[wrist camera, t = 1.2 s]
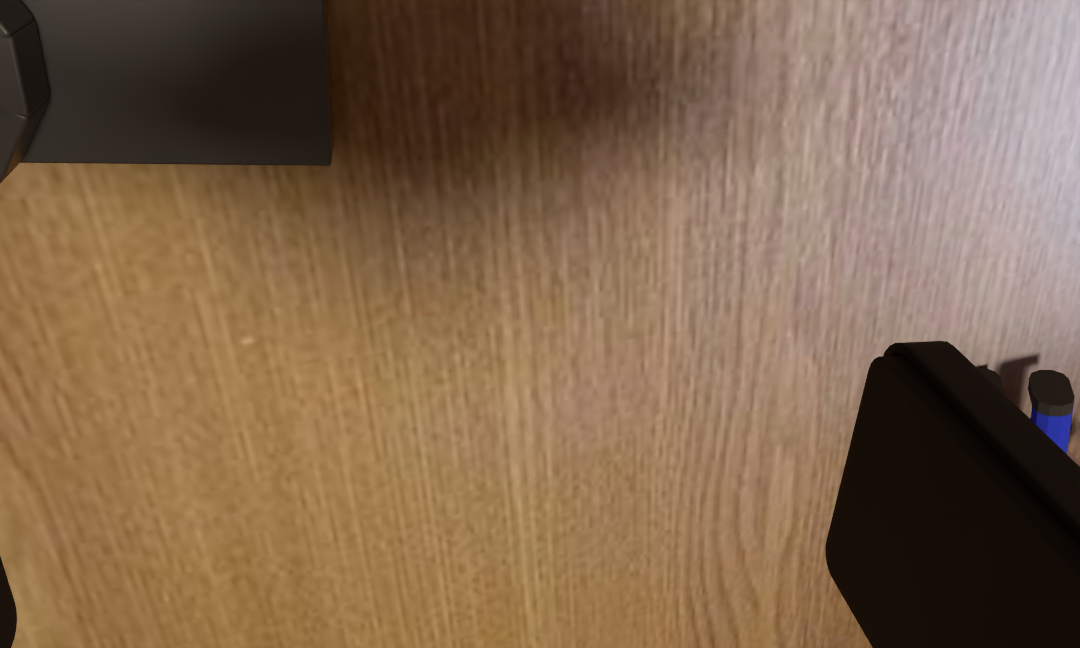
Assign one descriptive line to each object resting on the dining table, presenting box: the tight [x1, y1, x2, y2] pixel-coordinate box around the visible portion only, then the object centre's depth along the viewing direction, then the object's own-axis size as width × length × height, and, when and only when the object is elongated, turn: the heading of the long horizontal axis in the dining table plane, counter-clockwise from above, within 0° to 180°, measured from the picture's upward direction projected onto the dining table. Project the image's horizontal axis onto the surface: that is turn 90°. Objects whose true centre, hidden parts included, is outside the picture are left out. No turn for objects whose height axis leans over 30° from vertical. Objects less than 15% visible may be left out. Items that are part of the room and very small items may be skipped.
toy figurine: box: [977, 368, 1080, 466], centre depth 33 cm, size 8×4×12 cm
